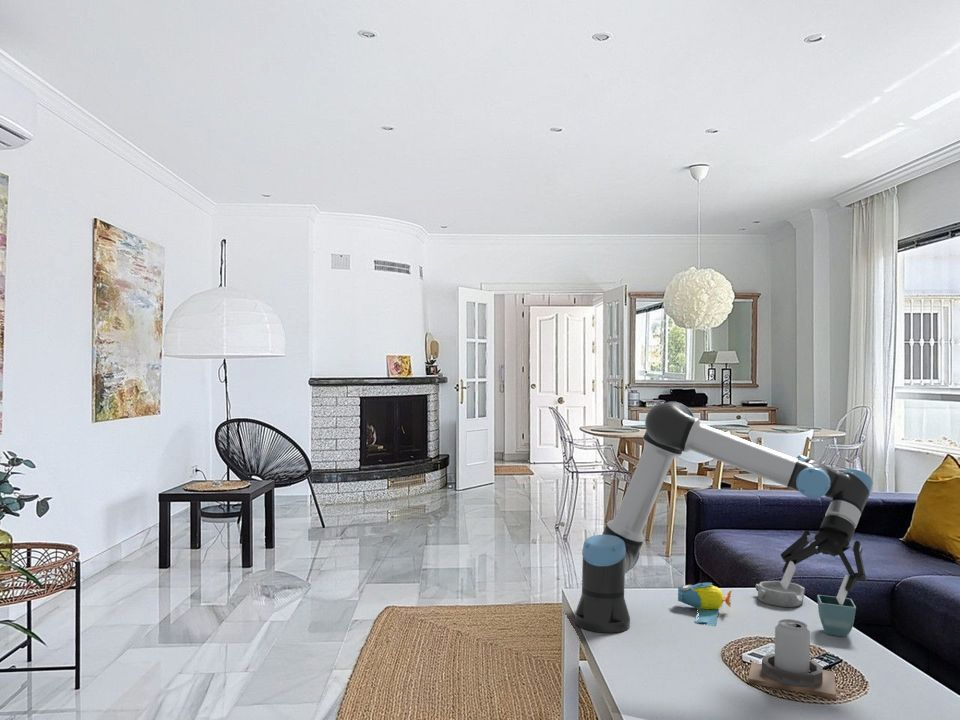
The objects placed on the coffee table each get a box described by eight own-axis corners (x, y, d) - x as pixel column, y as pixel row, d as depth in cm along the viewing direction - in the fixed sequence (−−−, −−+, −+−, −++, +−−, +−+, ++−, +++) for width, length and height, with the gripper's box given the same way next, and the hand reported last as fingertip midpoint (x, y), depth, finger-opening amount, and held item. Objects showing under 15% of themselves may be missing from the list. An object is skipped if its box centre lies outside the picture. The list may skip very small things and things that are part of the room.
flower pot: (851, 630, 206) (851, 598, 206) (855, 641, 198) (856, 607, 198) (816, 626, 209) (817, 594, 209) (819, 636, 200) (820, 603, 201)
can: (812, 683, 167) (813, 629, 167) (777, 679, 168) (778, 626, 168) (805, 670, 174) (806, 618, 174) (771, 666, 175) (772, 615, 176)
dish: (804, 599, 235) (805, 583, 235) (804, 611, 222) (804, 594, 222) (756, 592, 241) (756, 577, 241) (753, 604, 228) (753, 588, 228)
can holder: (747, 682, 168) (748, 667, 168) (752, 661, 181) (752, 647, 181) (835, 699, 161) (836, 683, 161) (834, 676, 174) (834, 661, 174)
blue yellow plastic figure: (728, 598, 205) (672, 592, 211) (728, 629, 205) (672, 623, 211) (733, 573, 231) (683, 568, 237) (733, 601, 231) (683, 596, 237)
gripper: (896, 542, 181) (869, 617, 172) (796, 521, 200) (766, 588, 190) (888, 523, 177) (860, 599, 168) (787, 504, 196) (757, 571, 187)
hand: (810, 593), depth 179 cm, fingers open, 13 cm apart
